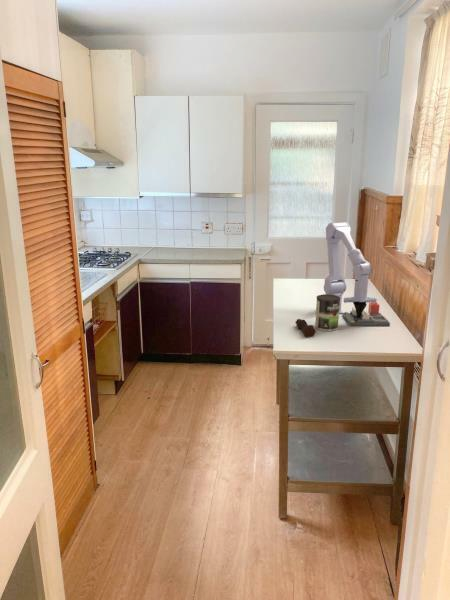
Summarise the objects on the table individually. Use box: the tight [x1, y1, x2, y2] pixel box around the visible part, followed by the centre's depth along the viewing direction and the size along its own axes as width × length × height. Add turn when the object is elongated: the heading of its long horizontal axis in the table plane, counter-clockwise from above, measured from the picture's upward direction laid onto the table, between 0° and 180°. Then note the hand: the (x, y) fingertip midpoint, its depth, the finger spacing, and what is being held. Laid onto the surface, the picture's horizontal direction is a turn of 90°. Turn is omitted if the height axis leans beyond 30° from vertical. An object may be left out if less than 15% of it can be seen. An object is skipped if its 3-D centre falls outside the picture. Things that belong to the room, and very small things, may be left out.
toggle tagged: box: [361, 309, 370, 320], centre depth 222 cm, size 3×5×4 cm, turn 179°
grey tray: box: [342, 310, 391, 327], centre depth 225 cm, size 18×15×2 cm
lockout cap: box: [367, 301, 380, 313], centre depth 236 cm, size 4×4×6 cm
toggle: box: [351, 306, 357, 315], centre depth 228 cm, size 3×5×4 cm, turn 179°
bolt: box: [295, 318, 317, 338], centre depth 211 cm, size 6×5×15 cm
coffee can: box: [314, 293, 340, 332], centre depth 215 cm, size 10×10×14 cm
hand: (358, 317), depth 222 cm, fingers closed
